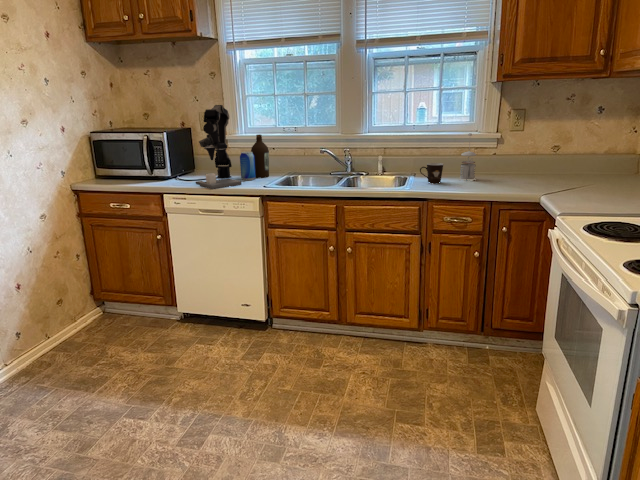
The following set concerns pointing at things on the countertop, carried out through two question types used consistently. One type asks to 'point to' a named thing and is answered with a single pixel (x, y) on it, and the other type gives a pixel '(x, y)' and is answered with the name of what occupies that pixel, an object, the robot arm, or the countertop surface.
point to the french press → (468, 165)
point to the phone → (199, 182)
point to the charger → (210, 178)
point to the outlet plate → (221, 183)
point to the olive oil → (261, 158)
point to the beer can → (247, 166)
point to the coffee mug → (433, 172)
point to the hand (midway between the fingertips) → (215, 160)
